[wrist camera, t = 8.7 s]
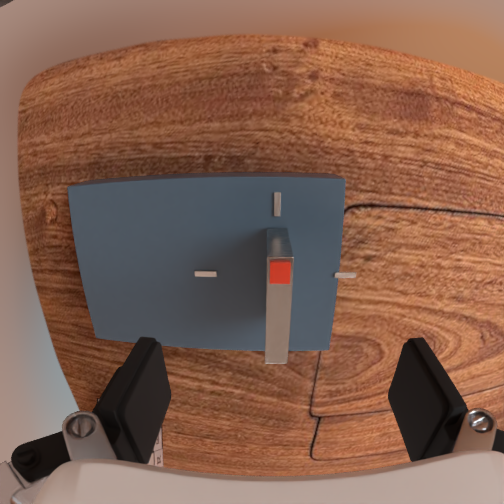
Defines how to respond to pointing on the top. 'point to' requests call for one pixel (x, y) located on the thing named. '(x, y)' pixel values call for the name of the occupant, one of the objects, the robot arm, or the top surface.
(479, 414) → the robot arm
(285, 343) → the lever
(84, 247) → the blue-grey rectangular block
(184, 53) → the top surface
